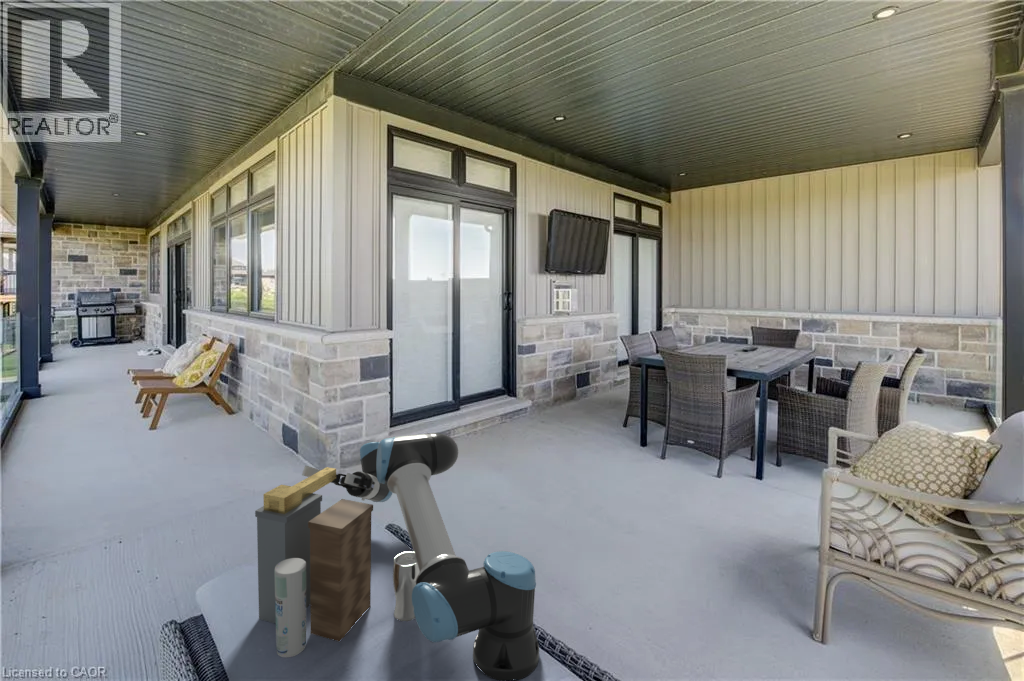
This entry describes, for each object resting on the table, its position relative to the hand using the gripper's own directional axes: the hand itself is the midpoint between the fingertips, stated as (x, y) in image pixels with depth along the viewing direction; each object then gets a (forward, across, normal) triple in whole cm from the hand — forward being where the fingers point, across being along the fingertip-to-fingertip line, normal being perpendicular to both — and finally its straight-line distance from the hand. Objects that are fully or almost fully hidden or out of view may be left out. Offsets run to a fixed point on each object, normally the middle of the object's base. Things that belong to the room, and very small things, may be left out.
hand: (325, 474), depth 138 cm
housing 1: (-2, 0, -33) cm, 33 cm away
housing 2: (-2, -16, -33) cm, 37 cm away
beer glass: (-9, -29, -30) cm, 43 cm away
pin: (+7, 0, -6) cm, 9 cm away
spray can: (+8, -10, -39) cm, 41 cm away
